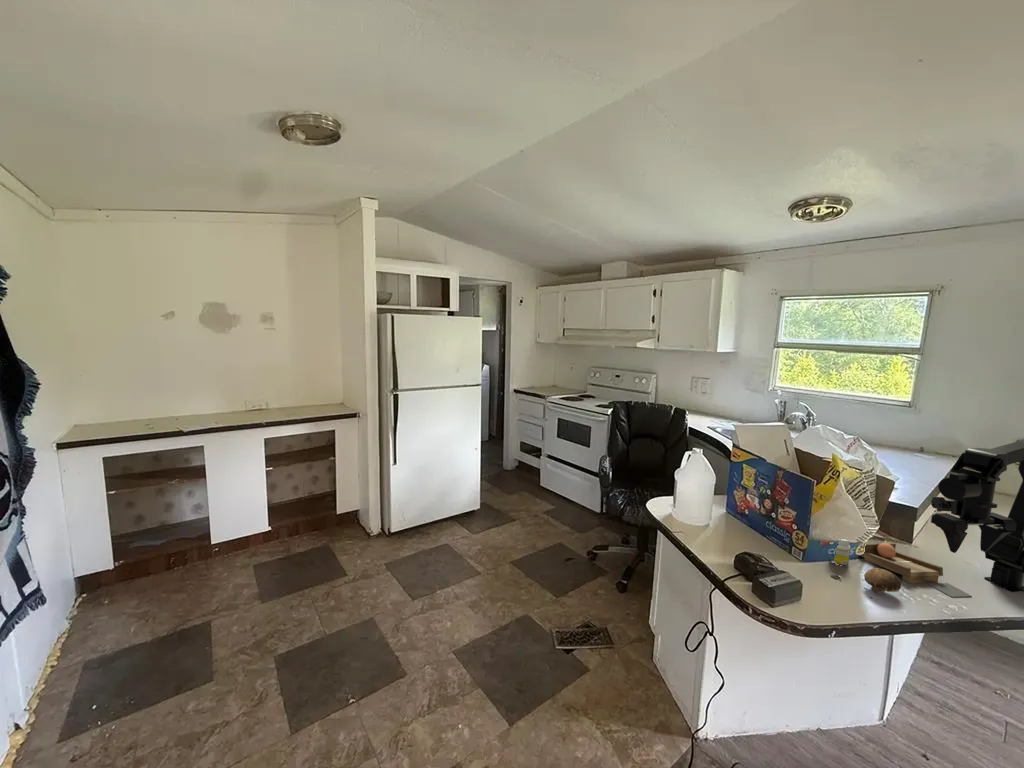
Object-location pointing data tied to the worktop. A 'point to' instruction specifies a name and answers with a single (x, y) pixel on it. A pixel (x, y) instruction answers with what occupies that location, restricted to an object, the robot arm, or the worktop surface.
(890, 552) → the ball
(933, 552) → the worktop surface
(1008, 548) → the robot arm
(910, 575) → the tray
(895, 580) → the mushroom
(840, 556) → the supplement bottle
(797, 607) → the worktop surface
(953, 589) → the coaster
